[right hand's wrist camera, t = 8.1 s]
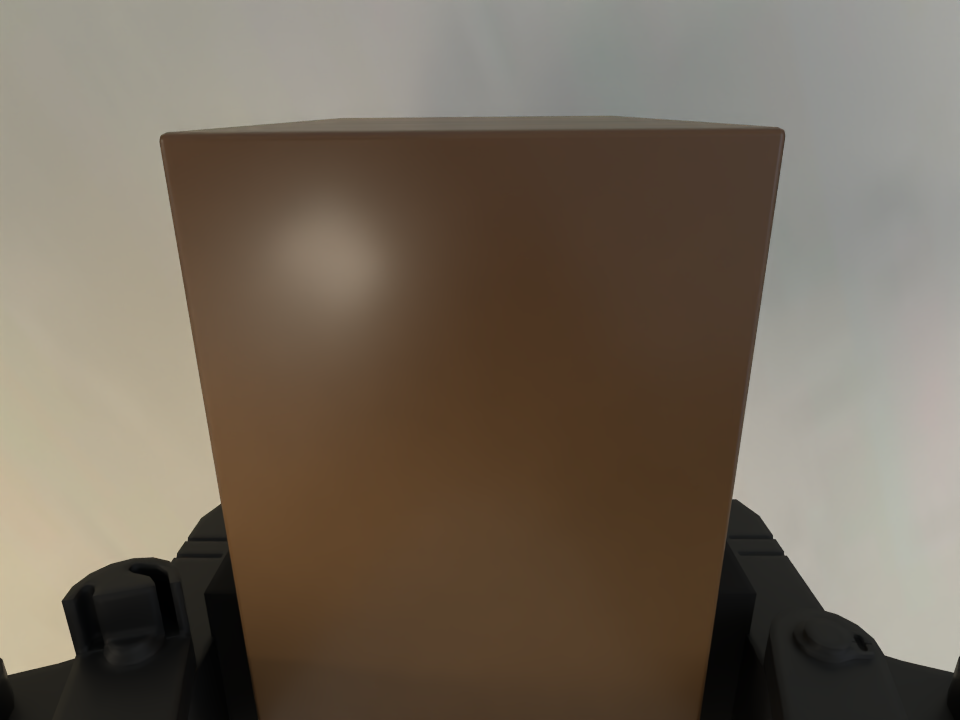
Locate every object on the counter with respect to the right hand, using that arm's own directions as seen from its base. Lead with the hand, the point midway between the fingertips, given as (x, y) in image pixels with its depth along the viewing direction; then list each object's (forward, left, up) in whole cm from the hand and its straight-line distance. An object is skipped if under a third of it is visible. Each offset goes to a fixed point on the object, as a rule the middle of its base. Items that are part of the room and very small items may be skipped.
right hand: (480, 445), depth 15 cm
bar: (+6, -20, -1) cm, 21 cm away
